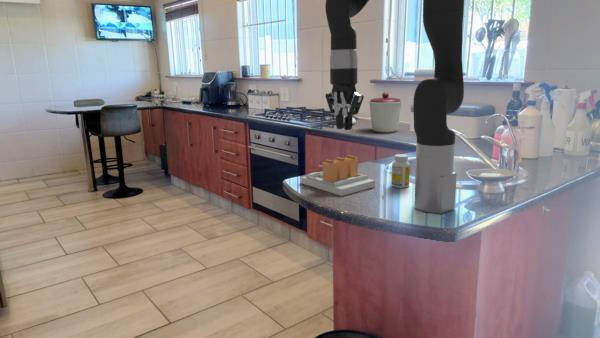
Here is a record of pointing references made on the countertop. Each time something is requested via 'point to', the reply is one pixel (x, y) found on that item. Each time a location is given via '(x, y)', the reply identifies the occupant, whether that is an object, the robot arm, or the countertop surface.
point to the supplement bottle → (400, 171)
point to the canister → (385, 113)
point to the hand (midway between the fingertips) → (344, 129)
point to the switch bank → (339, 183)
